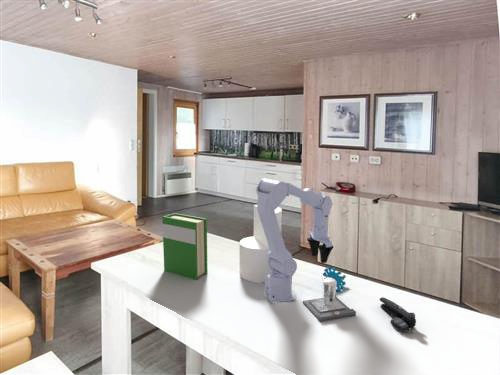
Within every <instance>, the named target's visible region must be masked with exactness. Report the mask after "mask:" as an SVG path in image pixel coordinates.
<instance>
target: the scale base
mask: <svg viewBox="0 0 500 375" xmlns="http://www.w3.org/2000/svg"><path fill="white" fill-rule="evenodd" d="M317 299H324V297H321V298H320V297H319V298H313V299H307V300H302V304H303V305H304V306H305V307H306V308H307V309H308V310H309V311H310V313H312V315H314V317H315V318H316V319H317V320H318V321H319V322H320V323H322V322H328V321H334V320H341V319H348V318H352V317H356V316H357V311H356V310H355V309H353V308H350V307H348V306H347V304H345V303H344V302H343V301H342V300H341V299H340V298H338V297H337V296H336V295H335V299H336V300H337V301H339V302H340V303H341V304H342V305H343V306H344V307H345V308H346V309H345V310H339V311H333V312H326V313H319V312H318V311H317V310H316V309H315V308H314V307H313V306H312V305H311V304H310V303H309V301H310V300H317Z"/></svg>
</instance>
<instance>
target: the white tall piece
mask: <svg viewBox="0 0 500 375" xmlns="http://www.w3.org/2000/svg"><path fill="white" fill-rule="evenodd" d="M282 212H283V210H282V208H281V207H280V206H278V208H276V209H275V214H276V218H277V221H278V224H279V228H280V231H281V232H282V216H283V215H282V214H283V213H282ZM269 252H270V248H269V245H268V242H267V239H266V235H265V232H264V229H263V226H262V223H261V220H260V217H259V214H258V210H257V204H253V236H248V237H243V238H242V239H241V240H240V241H239V276H240V277H241V278H242V279H243V280H245V281H247V282H248V281H249V282H252V283H265V277H266V275H269V274H271V273H272V272H271V268H270V267H269V265H268V255H267V254H268V253H269Z"/></svg>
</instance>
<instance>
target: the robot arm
mask: <svg viewBox="0 0 500 375" xmlns="http://www.w3.org/2000/svg"><path fill="white" fill-rule="evenodd" d="M255 191H256V196H257V202H256V203H257V204H256V205H257V210H258V214H259V217H260V220H261V223H262V226H263V229H264V232H265V235H266V239H267V242H268V245H269V248H270V252H269V253H268V254H267V255H268V265H269V267H270V268H271V272H272V273H271V274H269V275H266V277H265V282H264V292H263V294H264V296H265V297H266V299H268V301H269V302H270V303H271V304H275V303H283V302H289V301H296V300H297V299H296V297H295V296H294V295H293V294H292V287H293V284H292V283H293V276H294V274H296V271H297V269H298V264H297V261H296V260H295V259H294V257H293V255H292V254H291V252H290V251H288V249H287V248H286V245H285V242H284V239H283V235H282V230H281V231H280V228H279V224H278V221H277V218H276V214H275V209H276V208H278V207H280V206H281V204H282V203H283V202H284V200H285V199H286V197H289V196H290V195H291V196H294V197H296V198H298V199H299V201H300V203H302V204H305V205H307V206H309V207H311V208H312V209H313V214H312V215H313V218H312V220H313V221H312V231H310V230H309V234H308V235H309V237H308V238H306V239H307V240H306V241H307V242H308V245H309V248H310V253H311V256H312V257H317V256H318V255H320V257H319V258H320V263H321V264H325V263H327V262H328V259H329V256H330V254H331V252H332V250H333V249H334V246H333V245H332V243H333V242H332V241H331V239H330V238H331V236H330V235H329V217H330V216H329V215H330V214H331V209H332V208H333V204H334V203H333V201H332V199H331V197H330V196H328V195H324V194H322V192H320V191H315V190H314V188H312V187H308V188H307V187H306V188H304V189H302V188H300V187H298V186H296V185H294V184H292V183H289V182H285V181H282V180H275V179H271V178H270V179H269V178H266V177H265V178H262V179H261V180H260V181H259V182H258V184H257V186H256V188H255ZM320 243H321V244H320Z"/></svg>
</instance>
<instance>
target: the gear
mask: <svg viewBox="0 0 500 375" xmlns="http://www.w3.org/2000/svg"><path fill="white" fill-rule="evenodd" d="M337 270H338V268H336V267H335V266H334V267H333V268H332V266H328V267H327V268H325V269H323V271H324V272H323V273H322V276H323V280H324V279H326V278H327V277H329V278H333V279H335V280H336V281H337V285H336V291H337V292H341V291H342V290H344V289H345V285H346V284H347V282H346V281H344V280H345V279H346V278H347V277H346V276H347V275H345V274H343V275H342V272H341V270H338V271H337ZM336 271H337V272H336ZM341 275H342V276H341Z"/></svg>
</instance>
